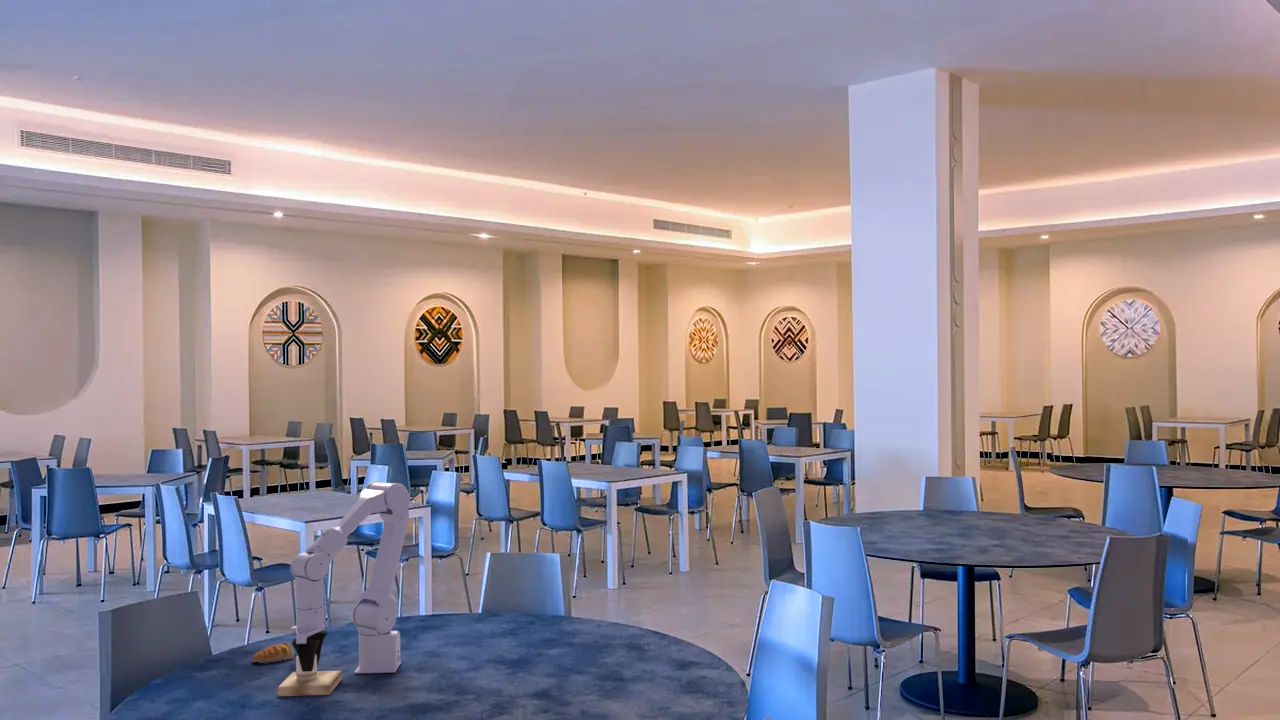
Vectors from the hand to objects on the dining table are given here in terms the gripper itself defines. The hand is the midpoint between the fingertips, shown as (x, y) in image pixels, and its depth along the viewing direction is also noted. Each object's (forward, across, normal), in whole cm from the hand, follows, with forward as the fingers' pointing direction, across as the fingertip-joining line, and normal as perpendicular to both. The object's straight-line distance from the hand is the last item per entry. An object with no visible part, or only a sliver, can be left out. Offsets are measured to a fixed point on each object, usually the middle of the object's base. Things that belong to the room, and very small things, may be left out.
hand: (310, 667), depth 226 cm
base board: (+4, 0, 0) cm, 4 cm away
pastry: (+5, -24, -15) cm, 29 cm away
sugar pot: (+2, 0, -1) cm, 2 cm away
